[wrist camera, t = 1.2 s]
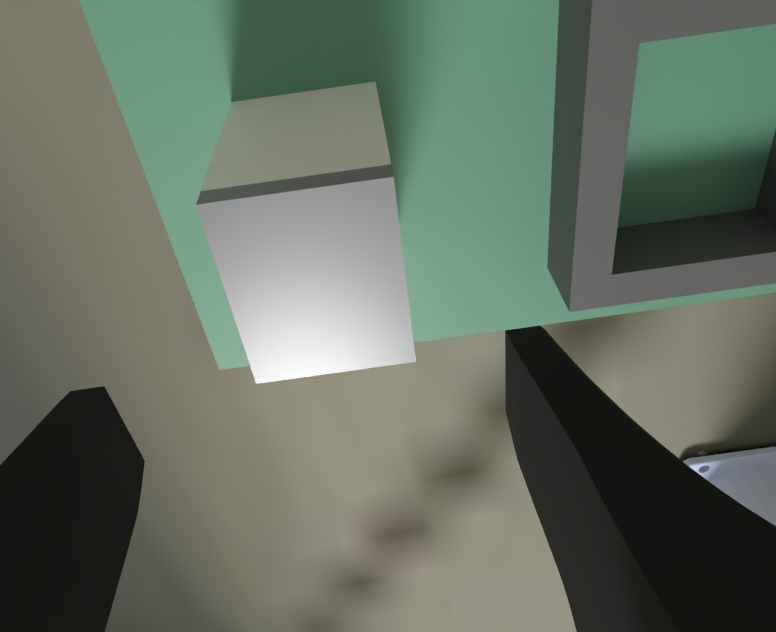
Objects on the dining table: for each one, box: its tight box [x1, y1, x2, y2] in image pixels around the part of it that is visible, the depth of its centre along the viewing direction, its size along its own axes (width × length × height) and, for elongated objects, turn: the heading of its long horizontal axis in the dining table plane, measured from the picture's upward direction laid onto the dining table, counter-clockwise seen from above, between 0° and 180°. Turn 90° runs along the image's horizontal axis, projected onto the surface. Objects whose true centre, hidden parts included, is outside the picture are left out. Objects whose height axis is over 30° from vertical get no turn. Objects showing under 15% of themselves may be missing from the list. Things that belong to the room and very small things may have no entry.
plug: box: [196, 82, 416, 384], centre depth 17 cm, size 4×5×6 cm
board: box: [79, 0, 776, 370], centre depth 18 cm, size 22×14×4 cm, turn 97°
